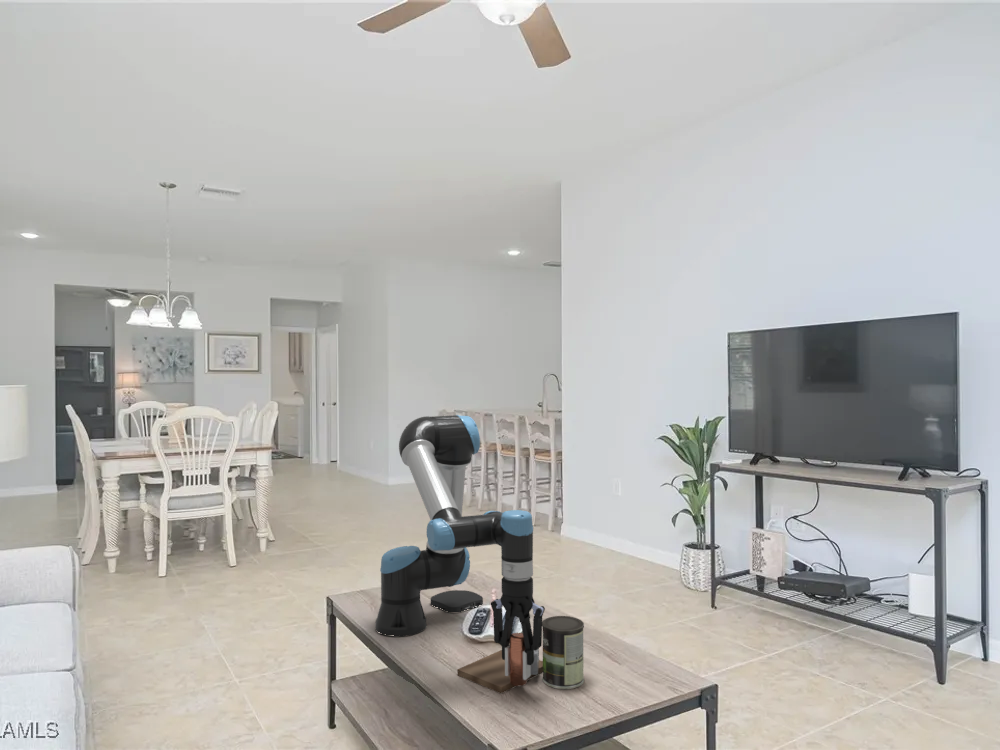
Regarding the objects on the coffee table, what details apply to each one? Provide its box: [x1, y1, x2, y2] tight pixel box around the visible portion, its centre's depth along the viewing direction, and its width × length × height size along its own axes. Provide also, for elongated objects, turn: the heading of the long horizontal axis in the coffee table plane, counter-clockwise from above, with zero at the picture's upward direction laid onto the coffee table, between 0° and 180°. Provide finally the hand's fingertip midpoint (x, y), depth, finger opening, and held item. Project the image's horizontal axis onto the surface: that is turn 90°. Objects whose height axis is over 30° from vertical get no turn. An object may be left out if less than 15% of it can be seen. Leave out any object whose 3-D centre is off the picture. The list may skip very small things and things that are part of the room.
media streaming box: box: [430, 589, 484, 613], centre depth 224 cm, size 15×15×3 cm
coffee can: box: [541, 615, 585, 690], centre depth 166 cm, size 10×10×14 cm
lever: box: [509, 632, 540, 687], centre depth 167 cm, size 18×7×11 cm, turn 173°
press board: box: [456, 649, 543, 694], centre depth 171 cm, size 15×18×2 cm
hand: (517, 675), depth 160 cm, fingers closed on lever, 4 cm apart
